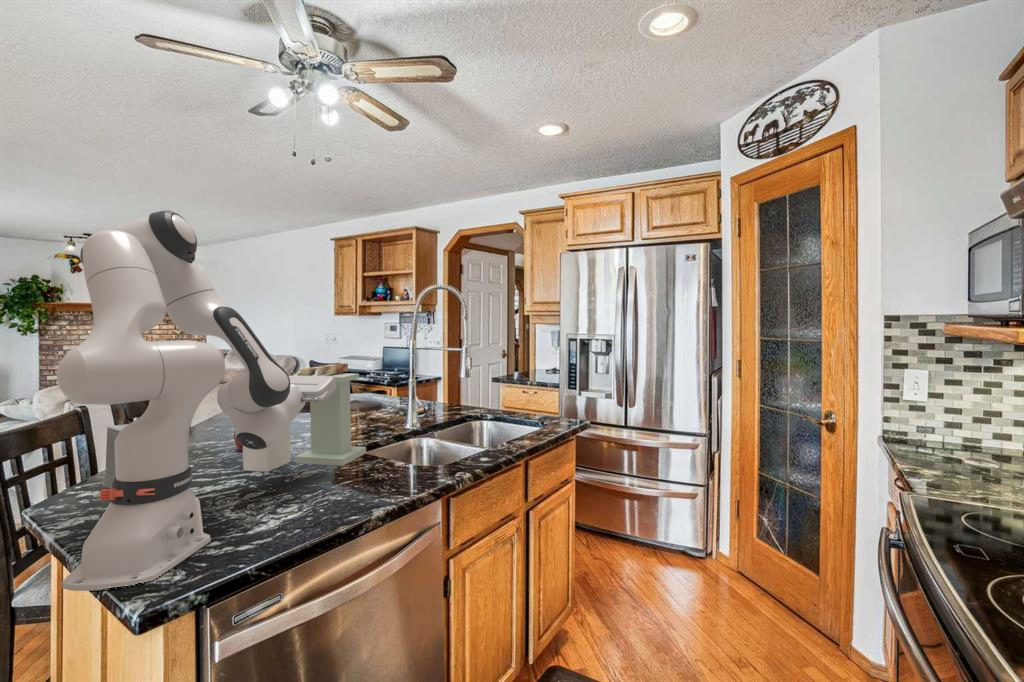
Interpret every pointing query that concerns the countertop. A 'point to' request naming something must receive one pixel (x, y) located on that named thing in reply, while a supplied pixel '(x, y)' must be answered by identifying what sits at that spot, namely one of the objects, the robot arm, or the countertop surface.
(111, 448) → the skincare box
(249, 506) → the countertop surface
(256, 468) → the rest block
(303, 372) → the bar
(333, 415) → the shelf stand
